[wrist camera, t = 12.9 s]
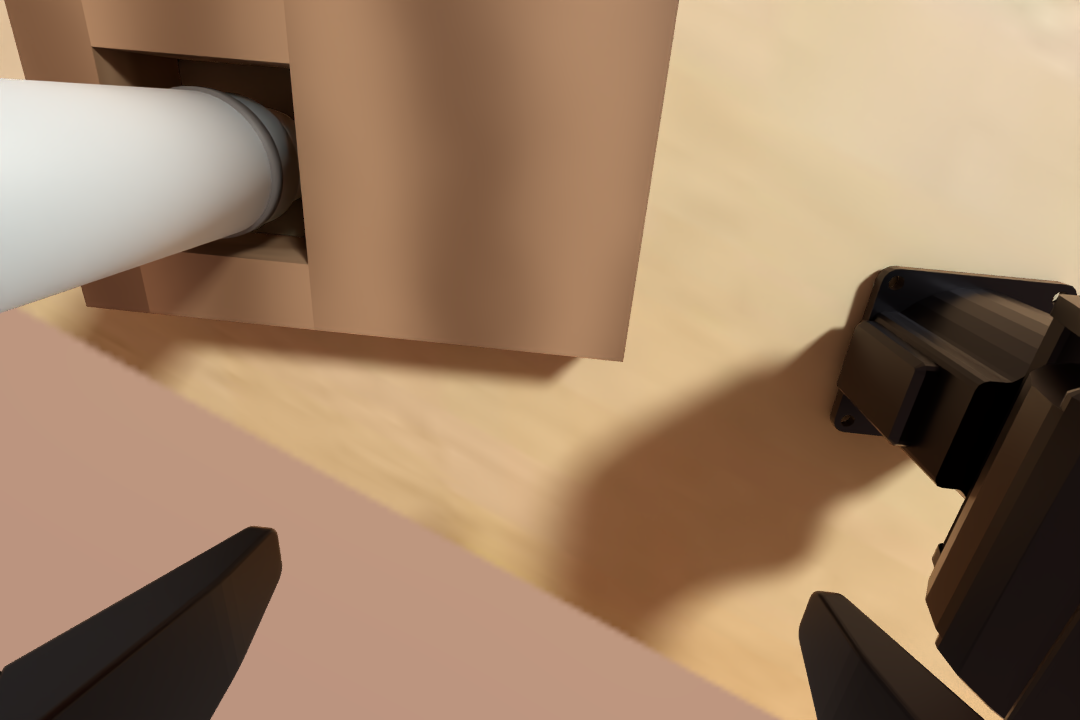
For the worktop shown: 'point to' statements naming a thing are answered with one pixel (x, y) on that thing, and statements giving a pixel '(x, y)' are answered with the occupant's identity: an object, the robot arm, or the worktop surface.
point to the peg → (130, 178)
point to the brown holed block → (409, 160)
